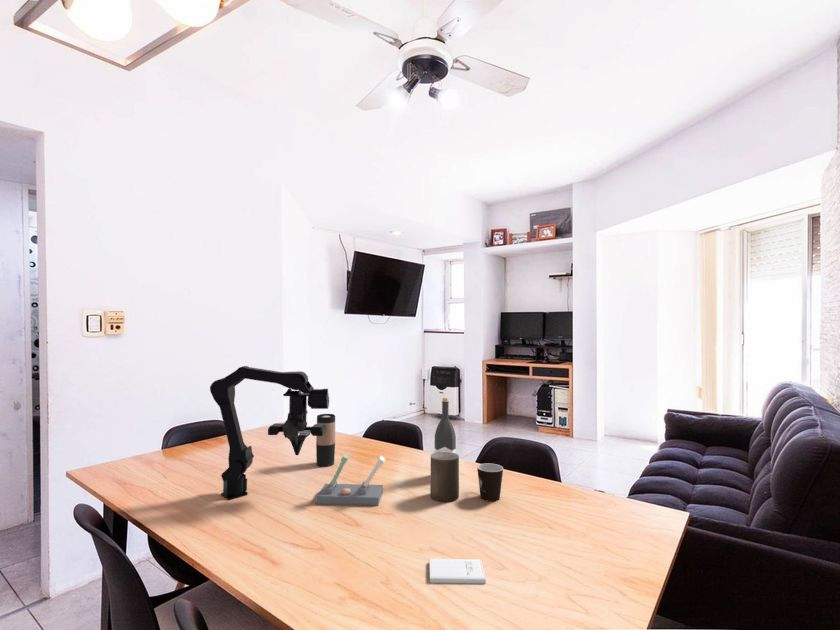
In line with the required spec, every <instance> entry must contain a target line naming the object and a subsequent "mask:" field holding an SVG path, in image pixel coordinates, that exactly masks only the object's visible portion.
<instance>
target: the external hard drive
mask: <svg viewBox="0 0 840 630" xmlns="http://www.w3.org/2000/svg"><path fill="white" fill-rule="evenodd" d="M428 560H429V561H428V562H429V563H428V565H429V583H430V584H483V583H485V584H486V583H487V582H486V581H487V579H486V574H485V571H484V567H483V562H482V559H462V558H429V559H428Z"/></svg>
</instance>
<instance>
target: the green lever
mask: <svg viewBox="0 0 840 630" xmlns="http://www.w3.org/2000/svg"><path fill="white" fill-rule="evenodd" d="M350 456H351V455H349V454H347V453H346V452H345V453H344V454H343V455H342V458H341V459H340V463H339V466H338V467H337V469H336V472H335V474H334V475H333V477H332V480H330V483H328V484H329V485H328V487H327V488H333V489H334V487H335V486H336V481H337V482H338V479H339V477H340V474H341V472H342V470H343V469H344V466H345V464H346V463H347V462H348V460H349V458H350Z"/></svg>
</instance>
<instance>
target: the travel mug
mask: <svg viewBox="0 0 840 630" xmlns="http://www.w3.org/2000/svg"><path fill="white" fill-rule="evenodd" d="M316 424H325V425H326V427H327V432H326V433H325V434H324V435H323V436H315V437H316V438H315V439H316V443H315V444H316V445H315V447H316V448H315V450H316V451H315V452H316V455H315V456H316V466H317V467H320V468H321V467H322V468H326V467H332V466H333V465H334V464H335V456H336V455H335V453H336V451H335V450H336V415H335V414H334V413H320V414H317V415H316Z"/></svg>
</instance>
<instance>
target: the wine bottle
mask: <svg viewBox="0 0 840 630" xmlns="http://www.w3.org/2000/svg"><path fill="white" fill-rule="evenodd" d="M449 402H450V401H449V398H448V397H446V396H445V397H442V401H441V405H442V406H441V419H440V421H439V423H438V424H437V427H436V428H435V433H434V453H437V452H452V453H456V454H457V450H456V449H457V446H456V444H457V443H456V442H457V441H456V439H457V436H456V432H455V428H454V426H453V424H452V422H451V420H450V417H449V411H450V410H449V404H450V403H449Z"/></svg>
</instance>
